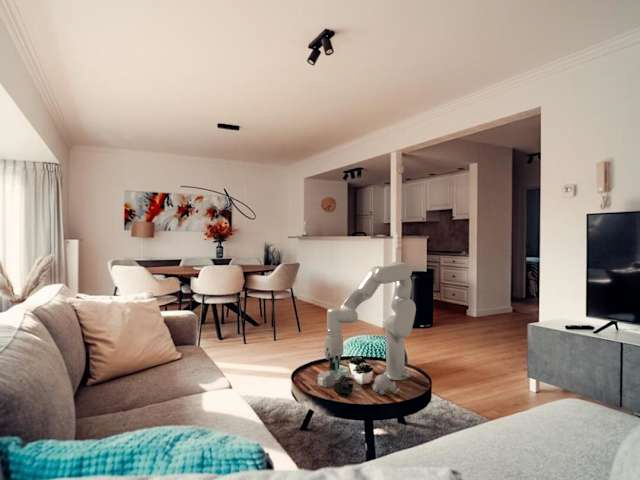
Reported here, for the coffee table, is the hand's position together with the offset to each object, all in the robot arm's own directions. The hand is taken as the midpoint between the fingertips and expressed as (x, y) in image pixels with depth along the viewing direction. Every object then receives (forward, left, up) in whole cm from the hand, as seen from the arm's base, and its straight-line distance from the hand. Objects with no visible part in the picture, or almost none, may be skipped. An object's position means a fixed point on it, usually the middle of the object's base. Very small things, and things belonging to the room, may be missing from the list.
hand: (334, 368), depth 198 cm
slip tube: (0, +5, -5) cm, 7 cm away
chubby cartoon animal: (-28, -4, -6) cm, 29 cm away
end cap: (-13, +9, -6) cm, 17 cm away
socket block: (0, -5, -6) cm, 8 cm away
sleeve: (0, +6, -6) cm, 9 cm away
